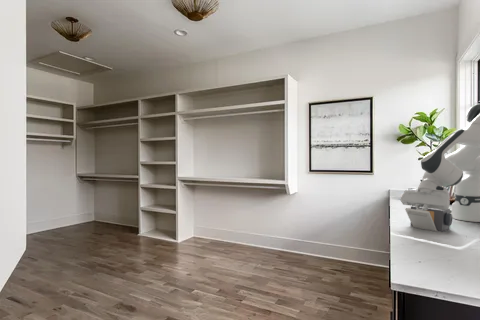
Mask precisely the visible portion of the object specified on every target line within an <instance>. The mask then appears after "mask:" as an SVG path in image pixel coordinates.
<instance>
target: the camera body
mask: <svg viewBox="0 0 480 320" xmlns="http://www.w3.org/2000/svg"><path fill="white" fill-rule="evenodd" d="M422 208H423V207H420V208H418V209H422ZM410 209H415V210H416V206H410ZM426 211H429V212H430V215H431V217H432V220H433V222H434V224H435V227H436V229H437V231H436V232H440V233H442V232H446V231H449V230H450V226H451V225H452V224H453V223H452V222H453V218H452V214H451V210H450V208H448V209H447V210H441V209H433V208H428V210H426ZM410 227H413V225H412V223H411V222H410Z"/></svg>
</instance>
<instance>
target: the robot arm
mask: <svg viewBox="0 0 480 320" xmlns="http://www.w3.org/2000/svg"><path fill="white" fill-rule="evenodd" d="M465 115H466V116H465V119H466V121H467V122H468V123H469V124H468V125H467V126H466V127H464V128H459V129H457V130H455V131H453V132H451V134H449V135H448V136H447V137H446V138H445V139H443V140H442V141H441V142H440V143H439V144H437V145H436V147H435V148H433V149H432V150H431V151H429V153H427V154H426V155H425V156H423V158H422V159H420V167H421V169H422V170H423V171H424V174H423V176H422V180H421V181H420V182H419V185H418V188H417V189H411V188H409V189H406V190H404V192H403V194H402V195H401V197H400V199H399V200H400V202H401V204H402V205H404V206H410V207H411V206H416V210H422V211H426V210H428V208H433V209H441V210H447V209H450V205H451V211H450V213H451V214H452V219H455V220H458V221H463V222H471V223H472V222H475V223H480V103H476V104H473V105H472V106H470V108H469V109H468V110H467V112H466V114H465ZM456 144H458V145H462V146H461V147H459V148H458V149H456V150H455V151H453V152H452V153H451V152H450V153H449V154H446V153H448V151H449V150H451V149H452V148H453V147H454V146H455V145H456ZM445 155H446V156H445ZM464 172H465V173H464ZM452 186H455V188H456V190H455V191H456V192H455V196H454V202H453V203H452V204H450V203H451V201H450V198H451V196H450V193H449V190H448V188H447V187H452ZM420 207H423V208H422V209H418V208H420Z"/></svg>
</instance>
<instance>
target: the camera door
mask: <svg viewBox="0 0 480 320" xmlns="http://www.w3.org/2000/svg"><path fill="white" fill-rule="evenodd" d="M405 212H406V214H407V216H408V218H409V221H410V224H411V223H412V225H413V226H412V227H413V228H416V229H419V230H420V229H422V230H425V231H426V230H427V231H432V232H438V231H437V229H436V227H435V224H434V222H433V220H432V217H431V215H430V212H429V211H422V210H415V209H411V208H408V207H406V208H405Z"/></svg>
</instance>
